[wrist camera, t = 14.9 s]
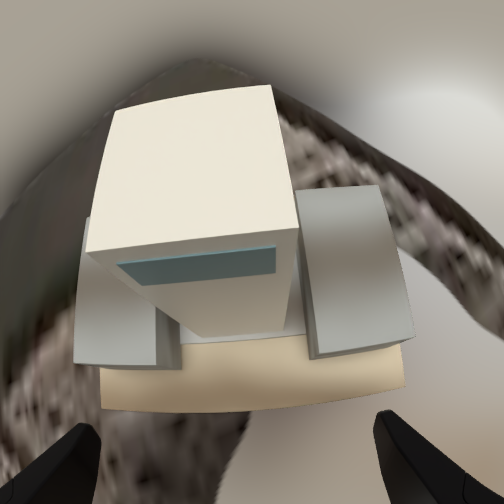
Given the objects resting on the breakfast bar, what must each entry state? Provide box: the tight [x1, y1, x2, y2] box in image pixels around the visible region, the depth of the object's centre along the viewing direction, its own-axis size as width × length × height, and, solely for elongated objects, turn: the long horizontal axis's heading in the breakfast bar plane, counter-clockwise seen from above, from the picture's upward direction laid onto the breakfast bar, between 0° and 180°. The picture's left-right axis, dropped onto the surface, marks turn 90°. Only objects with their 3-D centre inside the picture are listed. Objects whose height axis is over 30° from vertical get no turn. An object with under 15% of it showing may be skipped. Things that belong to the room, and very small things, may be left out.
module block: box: [85, 85, 299, 338], centre depth 13 cm, size 5×4×12 cm
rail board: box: [74, 185, 415, 413], centre depth 17 cm, size 13×18×5 cm
